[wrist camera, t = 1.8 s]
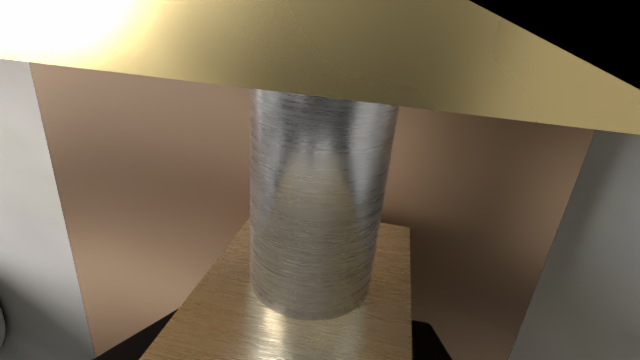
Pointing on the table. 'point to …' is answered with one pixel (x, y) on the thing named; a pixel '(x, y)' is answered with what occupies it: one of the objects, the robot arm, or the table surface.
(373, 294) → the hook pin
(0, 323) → the travel mug
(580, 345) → the table surface
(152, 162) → the copper board
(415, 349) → the robot arm
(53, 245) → the table surface
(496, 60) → the gold slab
